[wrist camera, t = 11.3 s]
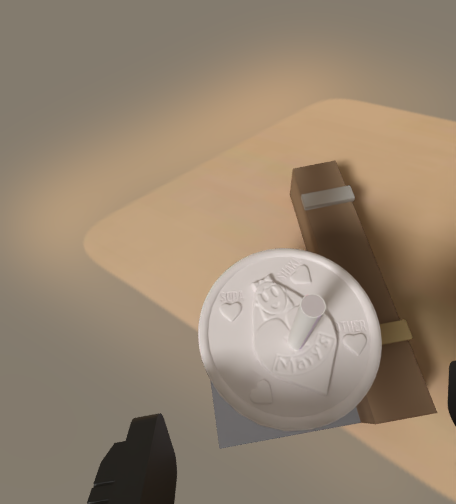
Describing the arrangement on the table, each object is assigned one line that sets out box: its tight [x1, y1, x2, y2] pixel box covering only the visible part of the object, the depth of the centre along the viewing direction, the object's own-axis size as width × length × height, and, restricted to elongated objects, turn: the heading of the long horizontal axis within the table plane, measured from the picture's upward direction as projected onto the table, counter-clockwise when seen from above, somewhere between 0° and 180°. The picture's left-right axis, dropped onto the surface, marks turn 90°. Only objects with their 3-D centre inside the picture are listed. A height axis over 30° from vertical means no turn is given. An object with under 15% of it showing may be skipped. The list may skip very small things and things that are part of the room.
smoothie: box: [198, 248, 382, 431], centre depth 14 cm, size 6×6×14 cm
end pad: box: [211, 382, 361, 448], centre depth 20 cm, size 8×8×1 cm
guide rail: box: [290, 161, 437, 424], centre depth 21 cm, size 3×16×3 cm, turn 9°
